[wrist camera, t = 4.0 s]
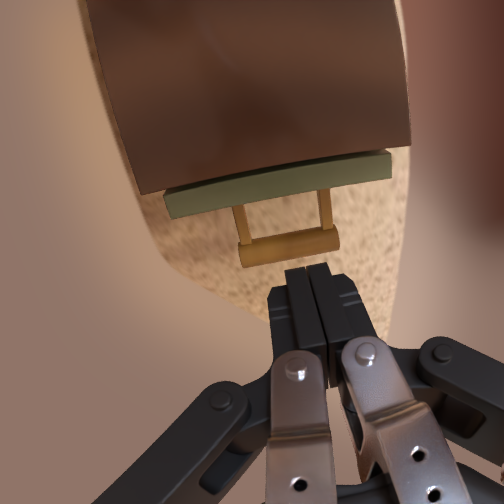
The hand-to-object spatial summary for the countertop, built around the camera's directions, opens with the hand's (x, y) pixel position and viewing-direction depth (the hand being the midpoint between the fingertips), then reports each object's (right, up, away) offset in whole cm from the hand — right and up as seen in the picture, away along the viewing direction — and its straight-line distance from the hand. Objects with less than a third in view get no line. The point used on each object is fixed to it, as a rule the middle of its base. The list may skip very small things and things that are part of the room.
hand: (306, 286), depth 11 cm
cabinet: (-3, +15, +4) cm, 16 cm away
